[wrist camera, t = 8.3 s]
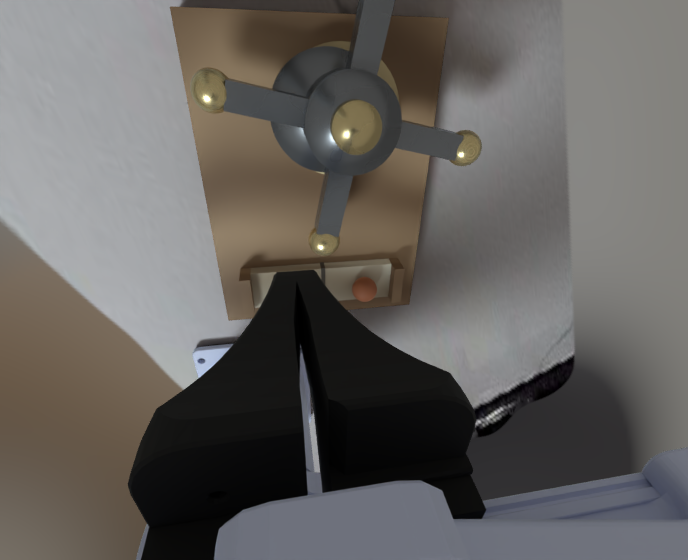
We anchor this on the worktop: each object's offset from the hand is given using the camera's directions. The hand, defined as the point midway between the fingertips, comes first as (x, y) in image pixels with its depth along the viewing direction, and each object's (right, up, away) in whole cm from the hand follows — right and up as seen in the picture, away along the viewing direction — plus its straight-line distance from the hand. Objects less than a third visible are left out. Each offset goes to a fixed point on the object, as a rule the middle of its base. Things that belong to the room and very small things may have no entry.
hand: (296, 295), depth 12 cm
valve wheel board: (0, +6, +9) cm, 11 cm away
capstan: (+1, +8, +5) cm, 10 cm away
